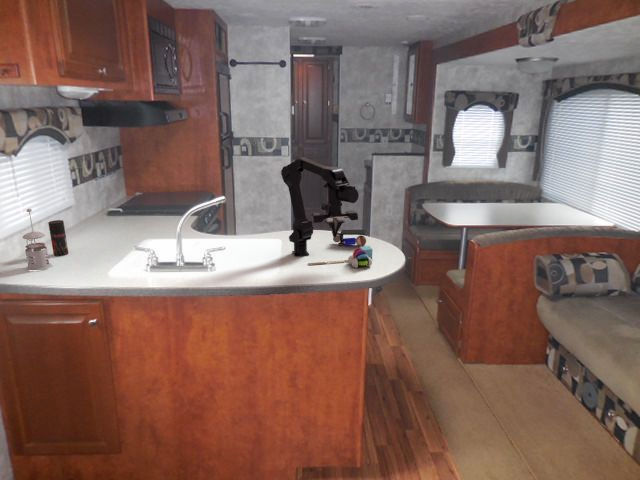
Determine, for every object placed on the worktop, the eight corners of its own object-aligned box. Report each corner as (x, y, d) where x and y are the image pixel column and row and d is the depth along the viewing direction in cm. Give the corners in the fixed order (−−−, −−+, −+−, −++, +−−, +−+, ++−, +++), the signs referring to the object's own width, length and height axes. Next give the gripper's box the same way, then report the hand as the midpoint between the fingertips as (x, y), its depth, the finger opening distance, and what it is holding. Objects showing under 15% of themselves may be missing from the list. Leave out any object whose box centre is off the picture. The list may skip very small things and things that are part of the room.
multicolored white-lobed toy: (365, 260, 213) (365, 244, 211) (373, 268, 204) (374, 251, 202) (346, 262, 211) (346, 246, 209) (354, 270, 202) (354, 253, 200)
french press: (31, 273, 200) (20, 212, 193) (20, 267, 207) (9, 208, 200) (56, 267, 207) (46, 208, 200) (45, 261, 214) (35, 204, 207)
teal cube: (359, 256, 218) (359, 246, 217) (369, 255, 219) (369, 246, 218) (362, 259, 214) (362, 249, 213) (372, 259, 215) (372, 249, 214)
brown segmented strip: (307, 264, 209) (307, 263, 209) (360, 259, 214) (360, 258, 214) (308, 265, 207) (308, 264, 207) (362, 260, 212) (362, 260, 212)
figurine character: (333, 249, 233) (366, 247, 230) (331, 233, 231) (364, 231, 228) (335, 245, 239) (367, 243, 236) (333, 230, 237) (365, 227, 234)
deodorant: (68, 255, 222) (63, 222, 218) (53, 257, 219) (48, 224, 215) (68, 251, 227) (63, 219, 223) (53, 253, 224) (48, 221, 220)
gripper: (350, 194, 210) (350, 230, 215) (307, 196, 206) (308, 233, 211) (358, 199, 200) (358, 237, 204) (313, 202, 196) (313, 240, 200)
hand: (334, 236), depth 205 cm, fingers closed
